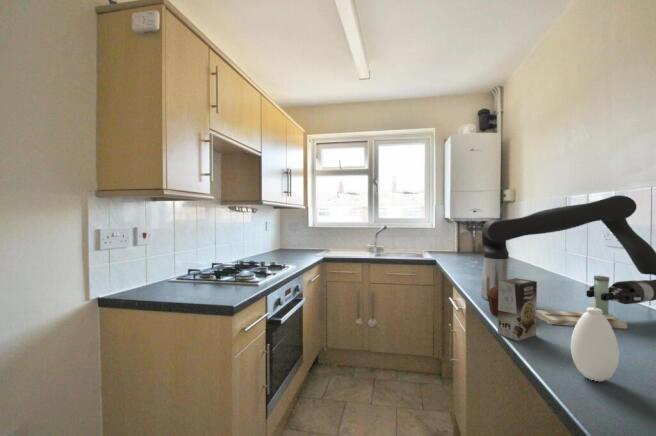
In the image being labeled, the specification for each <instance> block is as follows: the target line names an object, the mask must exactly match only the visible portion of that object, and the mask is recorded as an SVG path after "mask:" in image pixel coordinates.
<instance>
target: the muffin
mask: <svg viewBox="0 0 656 436" xmlns="http://www.w3.org/2000/svg"><path fill="white" fill-rule="evenodd" d="M487 296H488V300H487V301H488V307H489V312H491V313H490V314H491V315H493V316H494V315H496V316H495V317H498V296H499V285H498V286H495V287H493V288H491V289H490V290H489V291H488V293H487Z"/></svg>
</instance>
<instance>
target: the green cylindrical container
mask: <svg viewBox="0 0 656 436" xmlns="http://www.w3.org/2000/svg"><path fill="white" fill-rule="evenodd" d="M609 283H610V277H609V276H605V275H594V276H593V286H594V297H595V299H596V308H598V309H601V310H602V312H603V313H602V314H603V315H604V316H605V318H606V319H617V316H616V315H614V314H612V313H609V303H610V302H609V301H610V300H608V301H603V300H601V294H602V293H609V286H610V285H609ZM594 297H593V298H594Z"/></svg>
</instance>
